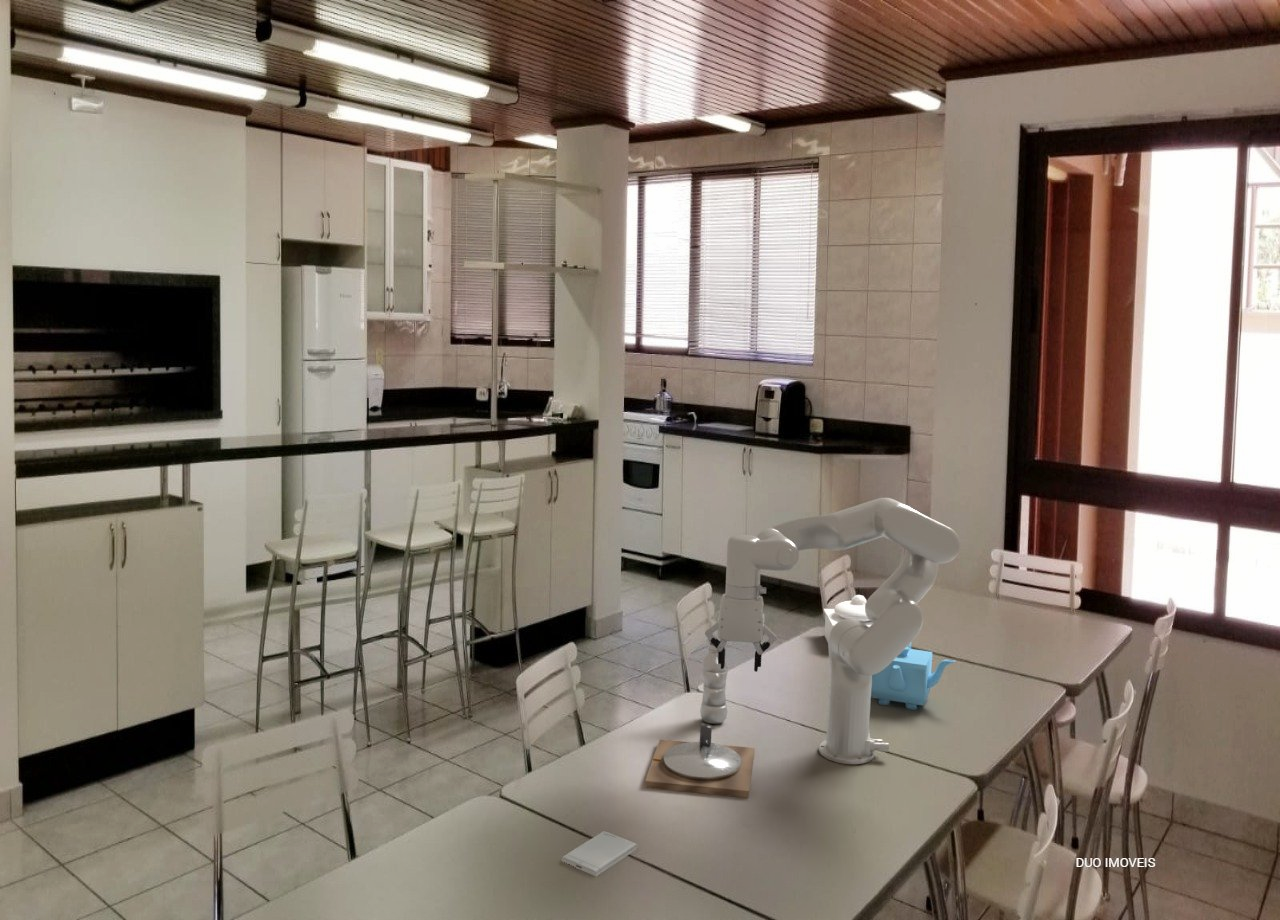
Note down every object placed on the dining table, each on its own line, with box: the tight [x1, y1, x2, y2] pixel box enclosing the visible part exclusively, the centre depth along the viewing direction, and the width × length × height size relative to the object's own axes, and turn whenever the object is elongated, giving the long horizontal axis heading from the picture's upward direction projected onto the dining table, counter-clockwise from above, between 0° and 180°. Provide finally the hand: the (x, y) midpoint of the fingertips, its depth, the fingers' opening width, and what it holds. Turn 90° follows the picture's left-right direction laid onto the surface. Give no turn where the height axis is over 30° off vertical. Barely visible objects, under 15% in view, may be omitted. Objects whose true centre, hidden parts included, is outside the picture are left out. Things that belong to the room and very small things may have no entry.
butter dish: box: [823, 594, 873, 643], centre depth 320 cm, size 18×18×16 cm
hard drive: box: [561, 830, 638, 877], centre depth 195 cm, size 2×8×12 cm
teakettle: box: [871, 641, 957, 711], centre depth 275 cm, size 19×19×15 cm
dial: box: [664, 723, 741, 780], centre depth 231 cm, size 17×17×6 cm
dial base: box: [644, 739, 755, 799], centre depth 231 cm, size 22×22×2 cm
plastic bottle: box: [699, 641, 729, 725], centre depth 257 cm, size 6×7×20 cm
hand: (739, 667), depth 234 cm, fingers open, 6 cm apart
